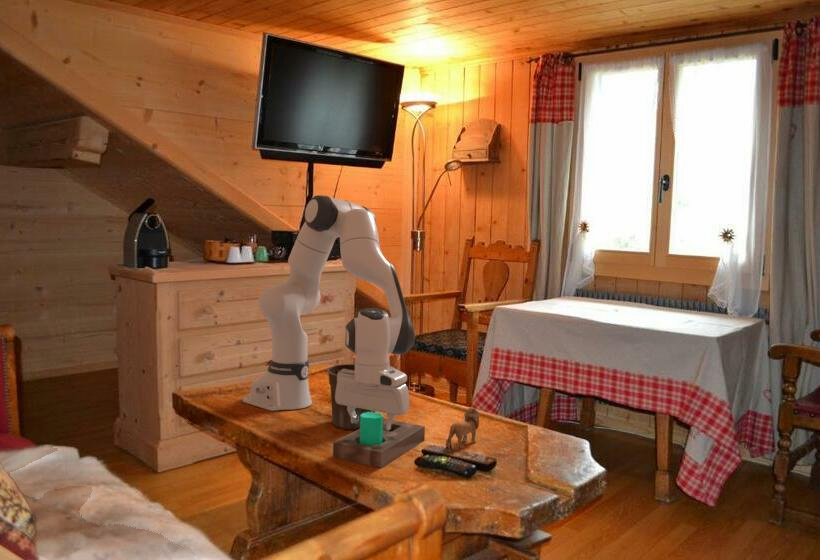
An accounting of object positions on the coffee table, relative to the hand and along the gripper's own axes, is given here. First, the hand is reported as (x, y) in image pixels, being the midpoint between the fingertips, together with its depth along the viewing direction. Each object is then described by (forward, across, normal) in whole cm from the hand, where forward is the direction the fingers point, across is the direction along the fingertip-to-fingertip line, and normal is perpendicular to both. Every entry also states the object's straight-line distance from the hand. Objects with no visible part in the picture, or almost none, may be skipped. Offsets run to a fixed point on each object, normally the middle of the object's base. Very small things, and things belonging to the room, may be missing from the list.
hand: (370, 426), depth 177 cm
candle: (+8, 0, 0) cm, 8 cm away
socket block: (+8, 0, +6) cm, 9 cm away
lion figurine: (+8, +17, +21) cm, 28 cm away
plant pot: (+8, -17, +20) cm, 27 cm away
